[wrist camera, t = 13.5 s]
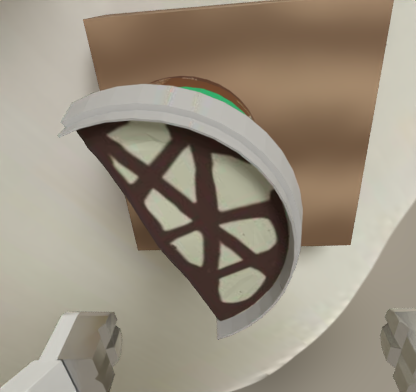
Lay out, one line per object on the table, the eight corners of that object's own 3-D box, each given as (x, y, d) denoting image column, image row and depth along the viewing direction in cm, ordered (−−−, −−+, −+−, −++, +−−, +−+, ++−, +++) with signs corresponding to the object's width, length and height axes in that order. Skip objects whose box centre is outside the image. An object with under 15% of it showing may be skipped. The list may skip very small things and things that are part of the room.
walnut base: (106, 14, 22) (83, 19, 18) (367, -9, 20) (395, -8, 17) (148, 220, 30) (138, 250, 26) (335, 214, 28) (350, 244, 25)
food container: (307, 190, 23) (354, 310, 14) (225, 222, 25) (223, 346, 16) (225, 3, 17) (221, 17, 9) (127, 62, 19) (45, 121, 11)
